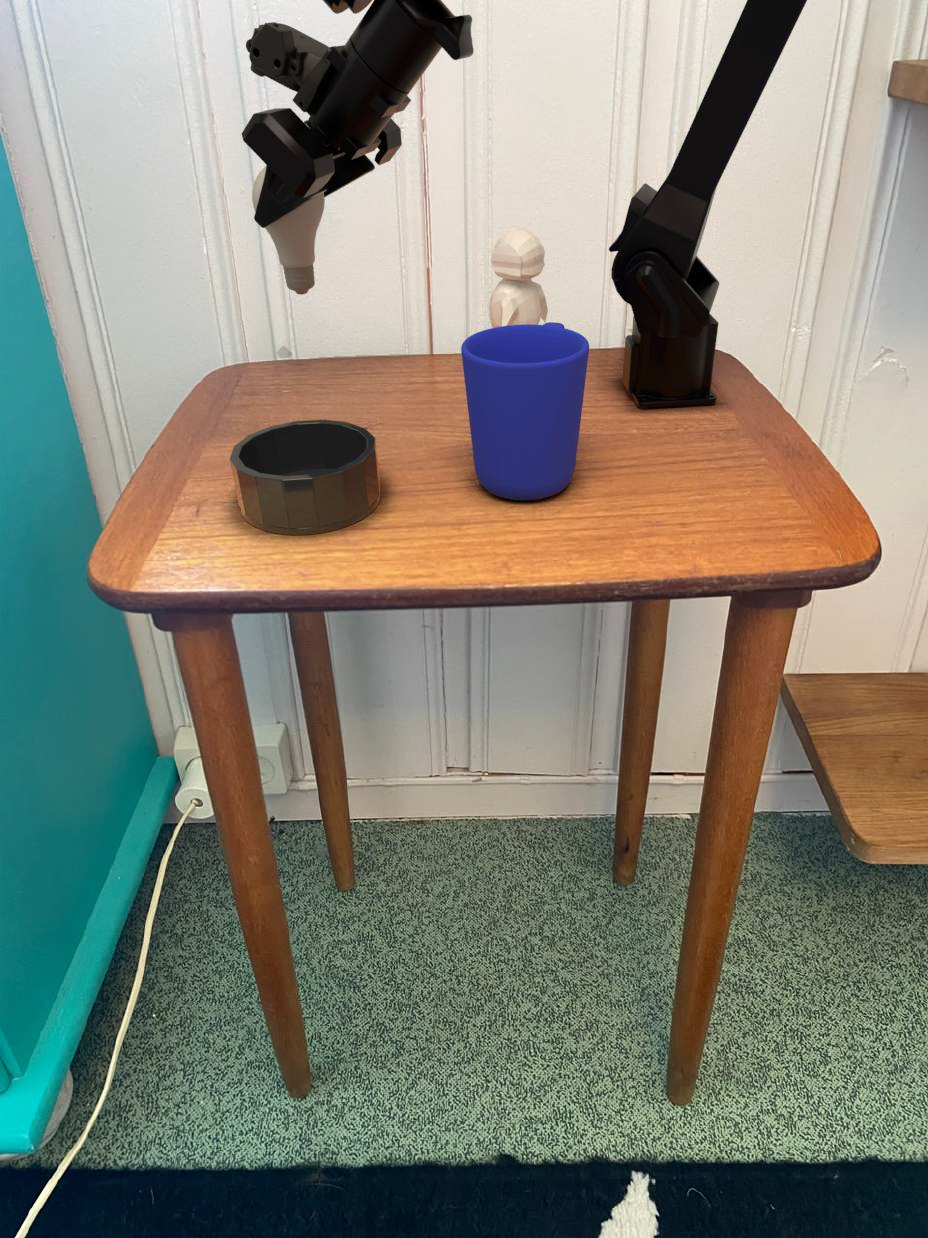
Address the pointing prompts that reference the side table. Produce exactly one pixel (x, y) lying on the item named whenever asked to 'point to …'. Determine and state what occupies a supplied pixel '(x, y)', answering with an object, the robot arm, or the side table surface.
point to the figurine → (517, 280)
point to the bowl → (306, 476)
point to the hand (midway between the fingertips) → (276, 215)
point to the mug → (525, 406)
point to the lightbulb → (295, 239)
